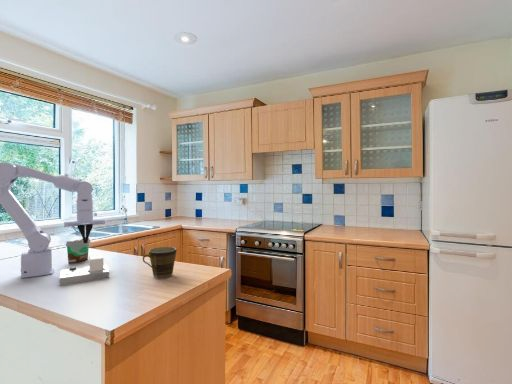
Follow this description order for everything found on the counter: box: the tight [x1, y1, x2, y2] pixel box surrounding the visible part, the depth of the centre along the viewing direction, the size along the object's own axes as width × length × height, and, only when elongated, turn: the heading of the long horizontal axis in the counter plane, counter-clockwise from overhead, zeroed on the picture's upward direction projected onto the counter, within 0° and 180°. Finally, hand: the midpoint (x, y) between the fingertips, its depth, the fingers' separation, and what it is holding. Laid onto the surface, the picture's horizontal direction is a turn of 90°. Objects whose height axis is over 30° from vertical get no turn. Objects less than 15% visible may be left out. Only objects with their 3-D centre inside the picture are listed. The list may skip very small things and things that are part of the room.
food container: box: [65, 236, 91, 265], centre depth 131 cm, size 12×6×10 cm, turn 179°
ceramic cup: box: [142, 246, 177, 280], centre depth 106 cm, size 13×10×10 cm
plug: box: [88, 254, 104, 272], centre depth 108 cm, size 4×6×6 cm
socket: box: [59, 263, 110, 286], centre depth 106 cm, size 15×12×3 cm
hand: (85, 242), depth 119 cm, fingers closed
